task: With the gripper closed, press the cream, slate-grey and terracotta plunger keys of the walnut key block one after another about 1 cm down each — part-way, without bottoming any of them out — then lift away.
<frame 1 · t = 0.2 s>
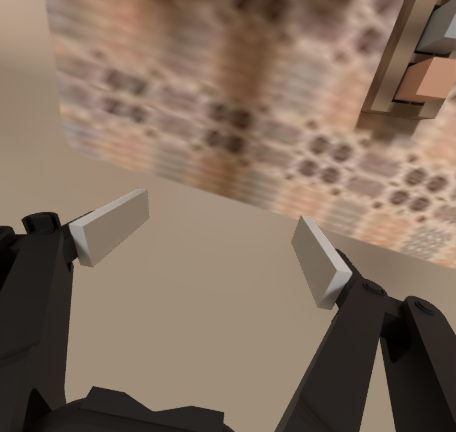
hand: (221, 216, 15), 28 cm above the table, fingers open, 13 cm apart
key block: (424, 41, 29), on the table
terracotta key: (426, 82, 28), point 5 cm above the table, slide at 0.0 cm
slate key: (454, 25, 25), point 5 cm above the table, slide at 0.0 cm
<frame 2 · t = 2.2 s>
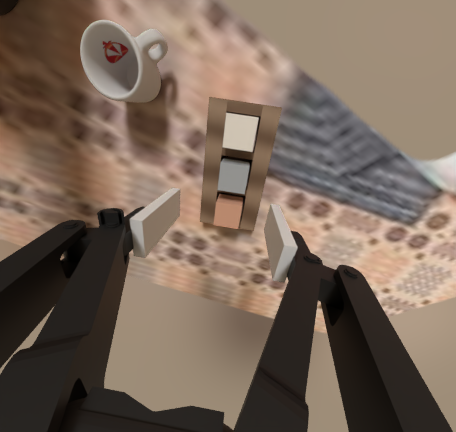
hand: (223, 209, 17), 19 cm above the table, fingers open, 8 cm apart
cup: (151, 74, 29), on the table
cream key: (240, 132, 27), point 5 cm above the table, slide at 0.0 cm
key block: (235, 170, 34), on the table
terracotta key: (228, 210, 33), point 5 cm above the table, slide at 0.0 cm
slate key: (233, 175, 30), point 5 cm above the table, slide at 0.0 cm
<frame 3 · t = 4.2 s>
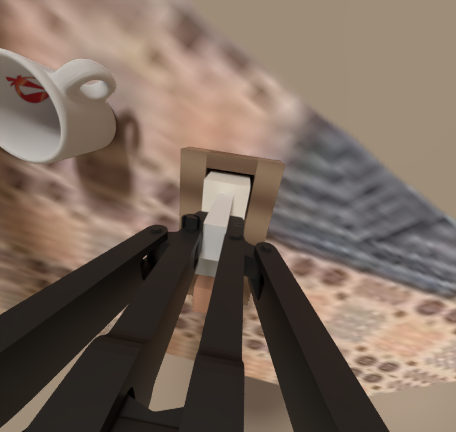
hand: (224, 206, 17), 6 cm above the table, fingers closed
cup: (102, 112, 21), on the table
cream key: (226, 197, 20), point 4 cm above the table, slide at 0.9 cm, touching gripper
key block: (223, 230, 26), on the table
terracotta key: (213, 288, 24), point 5 cm above the table, slide at 0.0 cm
slate key: (218, 249, 22), point 5 cm above the table, slide at 0.0 cm
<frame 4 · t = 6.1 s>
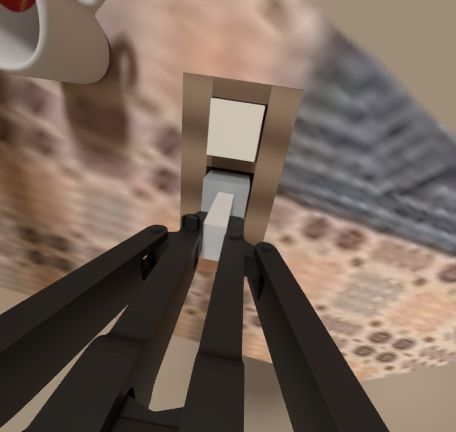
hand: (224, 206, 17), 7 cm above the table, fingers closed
cup: (94, 39, 18), on the table
cream key: (235, 131, 17), point 4 cm above the table, slide at 1.0 cm
key block: (229, 185, 24), on the table
terracotta key: (218, 246, 22), point 5 cm above the table, slide at 0.0 cm
slate key: (226, 196, 20), point 4 cm above the table, slide at 0.4 cm, touching gripper
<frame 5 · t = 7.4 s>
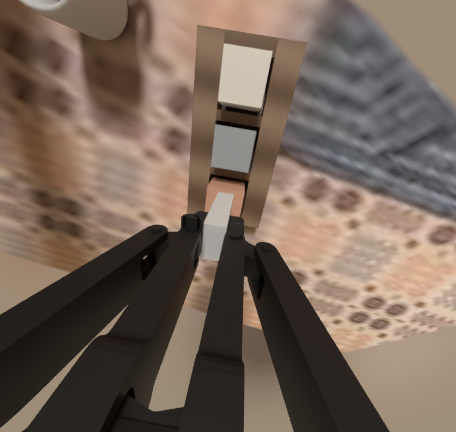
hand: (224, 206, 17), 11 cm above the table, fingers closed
cream key: (243, 83, 19), point 4 cm above the table, slide at 1.0 cm
key block: (235, 145, 25), on the table
terracotta key: (225, 200, 24), point 5 cm above the table, slide at 0.0 cm
slate key: (233, 148, 22), point 4 cm above the table, slide at 1.0 cm
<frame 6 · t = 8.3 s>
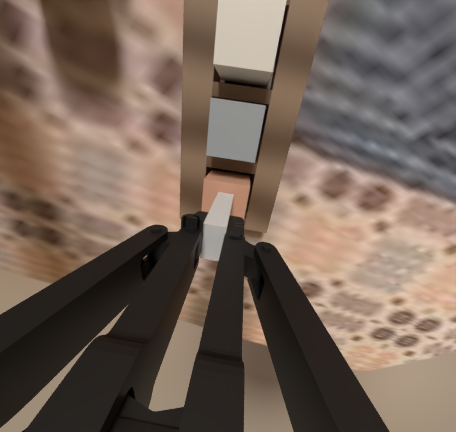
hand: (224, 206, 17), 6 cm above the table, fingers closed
cream key: (248, 42, 14), point 4 cm above the table, slide at 1.0 cm
key block: (237, 132, 20), on the table
terracotta key: (226, 196, 20), point 4 cm above the table, slide at 0.8 cm
slate key: (235, 132, 17), point 4 cm above the table, slide at 1.0 cm
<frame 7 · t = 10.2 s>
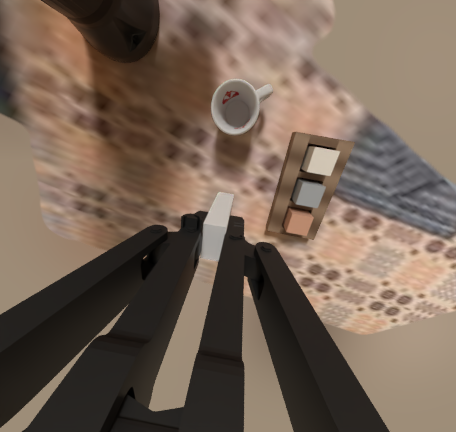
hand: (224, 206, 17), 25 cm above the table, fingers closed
cup: (243, 110, 36), on the table
cream key: (318, 160, 34), point 4 cm above the table, slide at 1.0 cm
key block: (302, 188, 40), on the table
terracotta key: (297, 220, 40), point 4 cm above the table, slide at 1.0 cm
slate key: (307, 192, 37), point 4 cm above the table, slide at 1.0 cm
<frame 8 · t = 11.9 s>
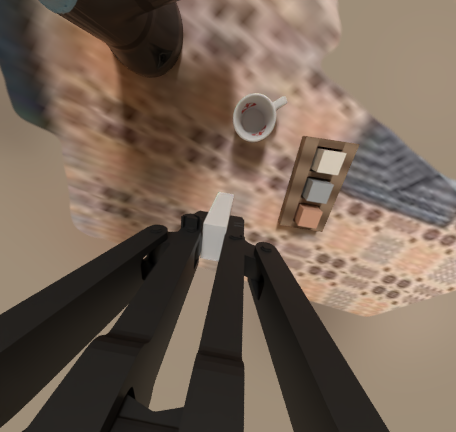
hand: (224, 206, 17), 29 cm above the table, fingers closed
cup: (258, 117, 40), on the table
cream key: (326, 161, 38), point 4 cm above the table, slide at 1.0 cm
key block: (311, 185, 45), on the table
terracotta key: (307, 215, 44), point 4 cm above the table, slide at 1.0 cm
slate key: (316, 190, 41), point 4 cm above the table, slide at 1.0 cm
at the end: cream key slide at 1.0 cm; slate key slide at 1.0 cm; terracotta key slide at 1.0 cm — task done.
